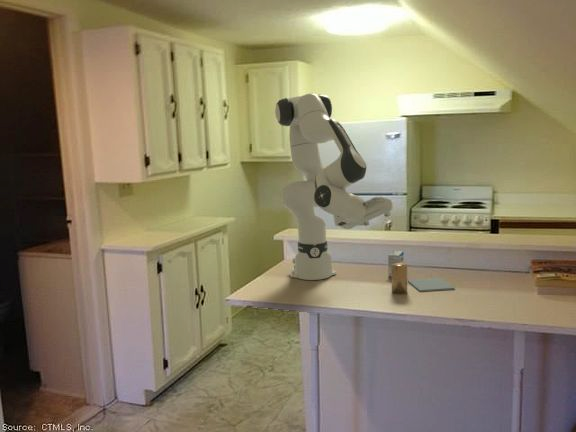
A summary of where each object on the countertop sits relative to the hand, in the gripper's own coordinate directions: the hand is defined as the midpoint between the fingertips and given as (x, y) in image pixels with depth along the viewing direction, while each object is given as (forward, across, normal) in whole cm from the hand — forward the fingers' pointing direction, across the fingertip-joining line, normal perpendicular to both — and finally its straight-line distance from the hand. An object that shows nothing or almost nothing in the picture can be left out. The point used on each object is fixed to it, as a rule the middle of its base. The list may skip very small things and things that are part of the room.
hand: (377, 218), depth 185 cm
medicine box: (+31, +16, +10) cm, 36 cm away
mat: (+27, 0, +20) cm, 34 cm away
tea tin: (+14, +5, +23) cm, 28 cm away
